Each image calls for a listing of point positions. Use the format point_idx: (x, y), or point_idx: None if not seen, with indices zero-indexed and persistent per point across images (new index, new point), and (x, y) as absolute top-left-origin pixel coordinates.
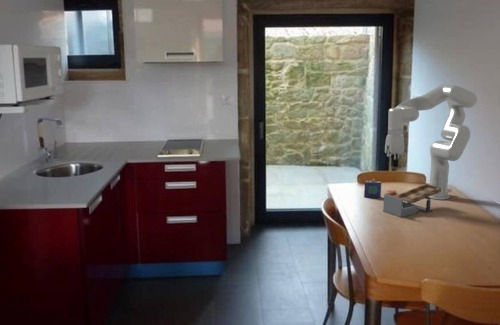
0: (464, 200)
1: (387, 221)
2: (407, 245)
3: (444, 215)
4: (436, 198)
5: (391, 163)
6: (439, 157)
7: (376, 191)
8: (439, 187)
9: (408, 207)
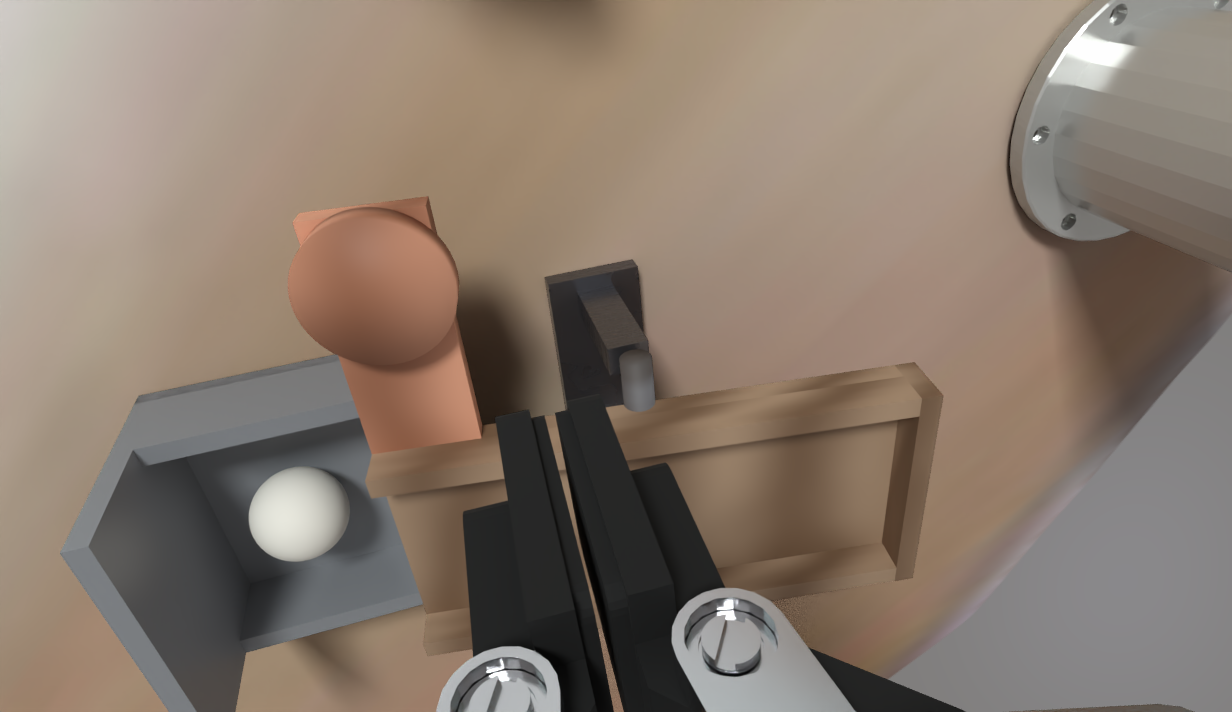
0: (1162, 305)
1: (26, 663)
2: None
3: None
4: (1024, 203)
5: (464, 537)
6: None
7: None
8: (909, 567)
9: (357, 612)
